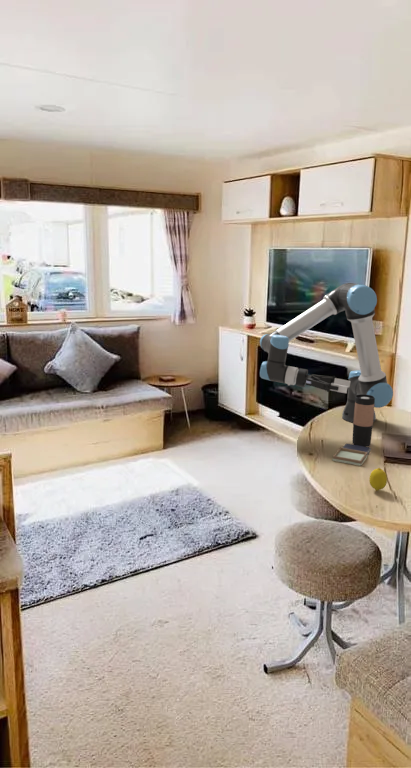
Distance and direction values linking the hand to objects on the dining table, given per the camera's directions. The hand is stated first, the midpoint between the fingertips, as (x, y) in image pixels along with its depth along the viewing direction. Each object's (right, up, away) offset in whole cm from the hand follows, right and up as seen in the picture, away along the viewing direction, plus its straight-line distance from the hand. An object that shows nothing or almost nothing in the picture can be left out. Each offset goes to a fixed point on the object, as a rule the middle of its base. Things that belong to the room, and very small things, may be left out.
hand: (348, 387), depth 226 cm
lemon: (-1, -34, -42) cm, 54 cm away
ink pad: (+1, -25, -6) cm, 26 cm away
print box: (-3, -27, -14) cm, 31 cm away
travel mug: (+6, -23, +2) cm, 24 cm away
